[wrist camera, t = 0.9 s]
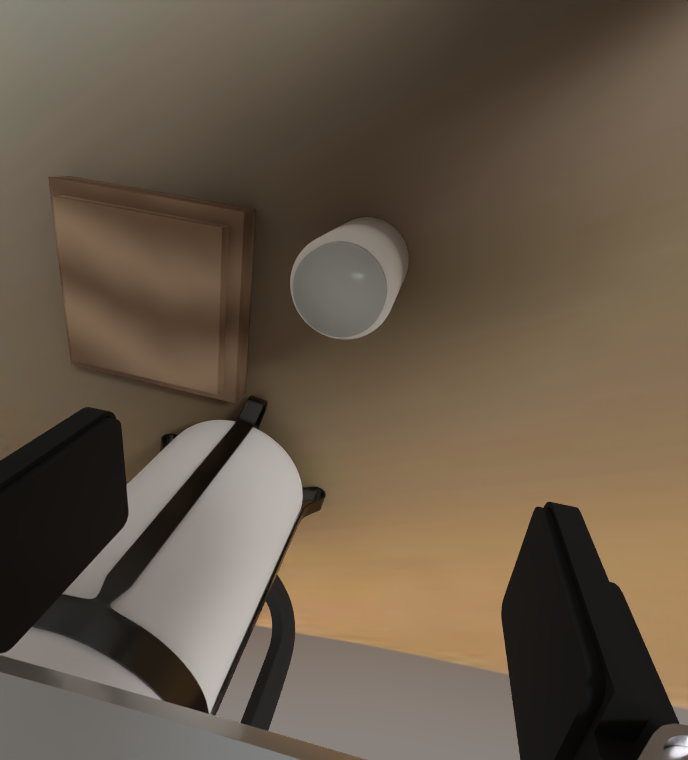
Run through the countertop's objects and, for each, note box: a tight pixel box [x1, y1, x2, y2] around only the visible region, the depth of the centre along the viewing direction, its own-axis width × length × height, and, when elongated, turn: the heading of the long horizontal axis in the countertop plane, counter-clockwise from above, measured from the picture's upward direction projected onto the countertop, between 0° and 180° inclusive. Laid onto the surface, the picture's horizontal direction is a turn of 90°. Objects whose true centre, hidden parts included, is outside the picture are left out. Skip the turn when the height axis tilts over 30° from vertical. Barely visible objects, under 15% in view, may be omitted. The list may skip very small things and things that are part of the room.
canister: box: [290, 217, 409, 340], centre depth 28 cm, size 6×6×9 cm
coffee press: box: [0, 395, 325, 731], centre depth 28 cm, size 17×16×30 cm
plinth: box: [49, 176, 256, 403], centre depth 35 cm, size 14×14×3 cm
